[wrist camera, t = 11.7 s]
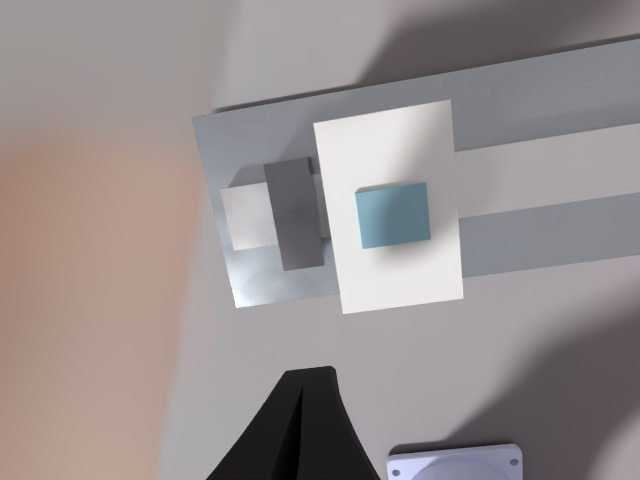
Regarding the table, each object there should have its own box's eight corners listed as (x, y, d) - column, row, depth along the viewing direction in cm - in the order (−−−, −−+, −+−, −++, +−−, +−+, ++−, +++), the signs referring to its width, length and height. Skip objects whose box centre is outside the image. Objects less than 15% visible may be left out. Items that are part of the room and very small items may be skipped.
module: (426, 258, 17) (465, 300, 12) (340, 270, 18) (343, 316, 13) (414, 116, 16) (453, 98, 11) (319, 133, 16) (312, 122, 11)
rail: (740, 239, 17) (835, 258, 14) (237, 305, 19) (218, 336, 15) (773, 16, 14) (899, -24, 11) (193, 118, 16) (160, 109, 13)
